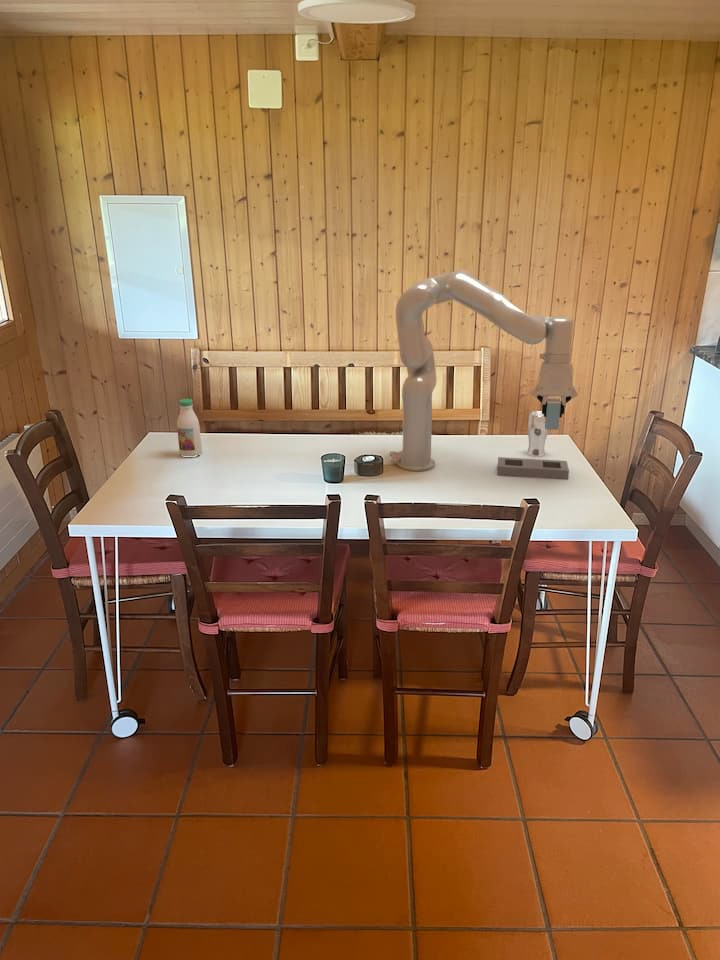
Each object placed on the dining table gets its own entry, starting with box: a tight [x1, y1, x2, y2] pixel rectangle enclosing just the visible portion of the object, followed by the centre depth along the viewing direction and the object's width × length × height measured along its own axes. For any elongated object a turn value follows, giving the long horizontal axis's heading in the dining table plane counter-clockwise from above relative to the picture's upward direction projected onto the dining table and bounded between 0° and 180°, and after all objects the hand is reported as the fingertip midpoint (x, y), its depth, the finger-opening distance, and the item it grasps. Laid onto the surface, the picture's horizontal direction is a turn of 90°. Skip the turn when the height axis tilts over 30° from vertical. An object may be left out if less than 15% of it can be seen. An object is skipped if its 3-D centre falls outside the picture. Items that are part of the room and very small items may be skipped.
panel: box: [496, 456, 570, 480], centre depth 226 cm, size 22×9×4 cm, turn 79°
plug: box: [545, 397, 561, 431], centre depth 218 cm, size 4×4×9 cm
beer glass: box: [526, 410, 549, 458], centre depth 241 cm, size 7×7×15 cm
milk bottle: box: [176, 398, 203, 456], centre depth 243 cm, size 8×8×20 cm
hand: (552, 415), depth 218 cm, fingers closed on plug, 4 cm apart
